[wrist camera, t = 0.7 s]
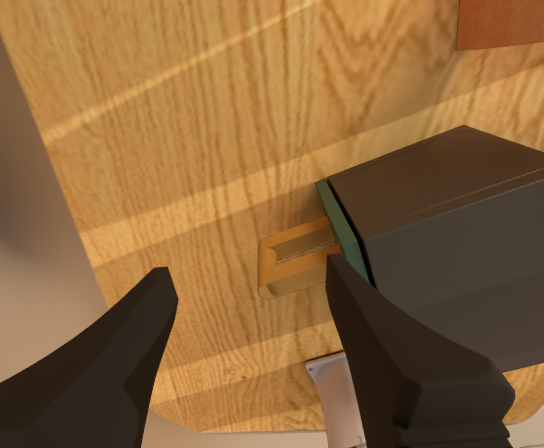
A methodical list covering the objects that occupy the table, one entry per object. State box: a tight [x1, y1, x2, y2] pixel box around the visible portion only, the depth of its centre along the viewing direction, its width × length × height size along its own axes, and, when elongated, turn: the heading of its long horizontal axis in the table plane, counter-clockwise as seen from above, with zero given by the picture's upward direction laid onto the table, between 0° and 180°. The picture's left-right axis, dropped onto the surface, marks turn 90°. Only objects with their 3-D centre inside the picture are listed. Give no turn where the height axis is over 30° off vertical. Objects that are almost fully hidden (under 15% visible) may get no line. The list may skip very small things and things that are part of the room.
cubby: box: [328, 125, 544, 373], centre depth 21 cm, size 10×16×9 cm, turn 22°
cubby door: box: [258, 179, 370, 299], centre depth 22 cm, size 6×16×8 cm, turn 22°
